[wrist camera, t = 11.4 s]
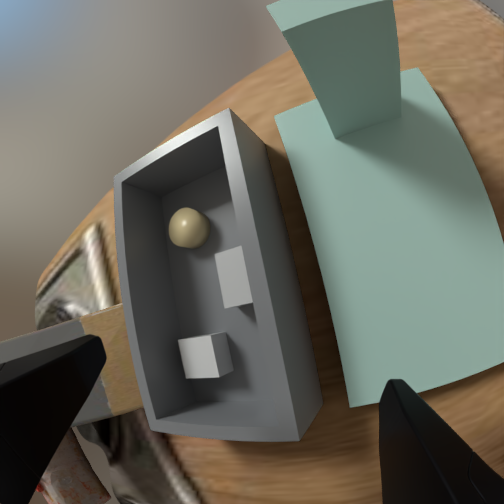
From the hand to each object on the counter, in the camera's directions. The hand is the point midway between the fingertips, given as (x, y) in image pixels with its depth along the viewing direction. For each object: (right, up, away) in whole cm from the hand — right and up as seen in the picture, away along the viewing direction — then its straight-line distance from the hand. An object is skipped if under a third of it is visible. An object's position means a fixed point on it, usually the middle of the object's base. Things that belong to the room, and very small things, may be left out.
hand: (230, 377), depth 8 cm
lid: (+9, +5, +6) cm, 12 cm away
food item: (-21, -24, +17) cm, 36 cm away
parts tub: (-1, +2, +10) cm, 10 cm away
